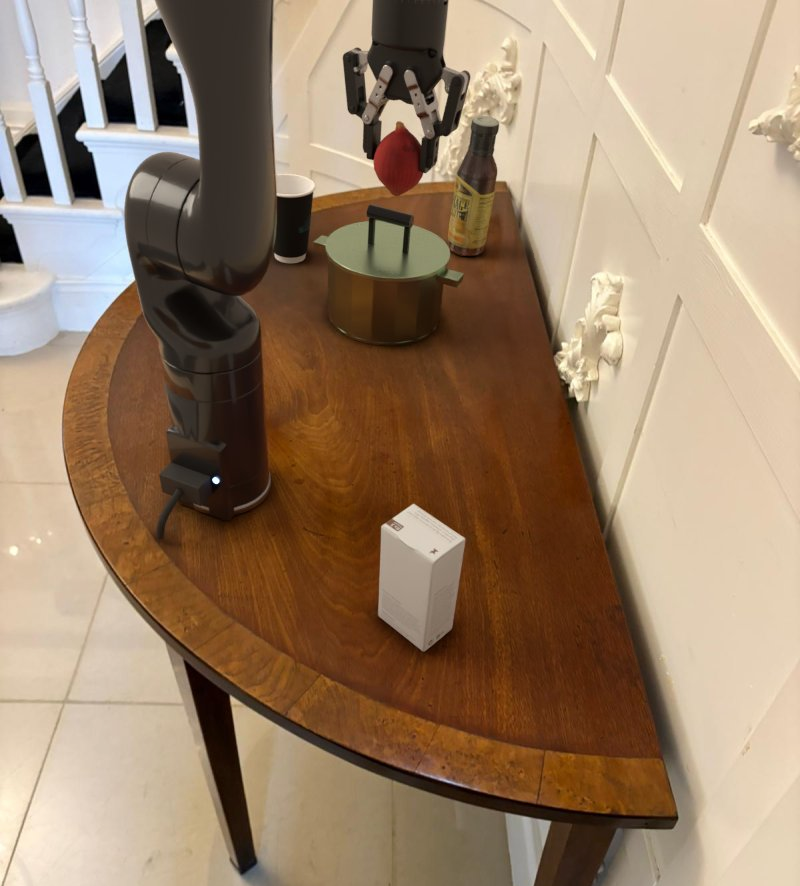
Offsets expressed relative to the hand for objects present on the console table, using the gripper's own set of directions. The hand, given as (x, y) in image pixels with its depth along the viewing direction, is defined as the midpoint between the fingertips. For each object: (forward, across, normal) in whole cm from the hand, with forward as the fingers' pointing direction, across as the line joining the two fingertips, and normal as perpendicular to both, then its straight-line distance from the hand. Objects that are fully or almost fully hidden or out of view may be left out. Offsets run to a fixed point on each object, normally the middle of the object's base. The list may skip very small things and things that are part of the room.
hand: (399, 163), depth 89 cm
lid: (+14, -4, +7) cm, 16 cm away
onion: (+4, 0, 0) cm, 4 cm away
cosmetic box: (+24, +22, -42) cm, 53 cm away
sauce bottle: (+24, -1, +33) cm, 41 cm away
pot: (+24, -4, +7) cm, 25 cm away
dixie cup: (+24, -24, +16) cm, 37 cm away
